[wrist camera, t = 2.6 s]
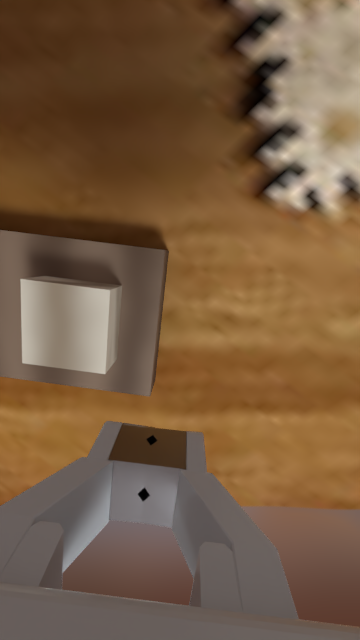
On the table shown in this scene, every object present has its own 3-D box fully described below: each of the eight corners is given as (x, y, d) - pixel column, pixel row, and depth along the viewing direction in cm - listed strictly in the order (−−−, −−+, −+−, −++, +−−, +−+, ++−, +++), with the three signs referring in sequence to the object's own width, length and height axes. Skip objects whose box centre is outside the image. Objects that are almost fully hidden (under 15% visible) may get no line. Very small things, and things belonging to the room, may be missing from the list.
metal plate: (168, 251, 22) (165, 250, 20) (155, 380, 25) (150, 396, 22) (-16, 228, 23) (-47, 224, 20) (-10, 358, 26) (-36, 371, 23)
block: (122, 285, 20) (110, 290, 17) (117, 358, 22) (105, 374, 19) (45, 275, 20) (20, 278, 17) (45, 349, 22) (22, 363, 19)
